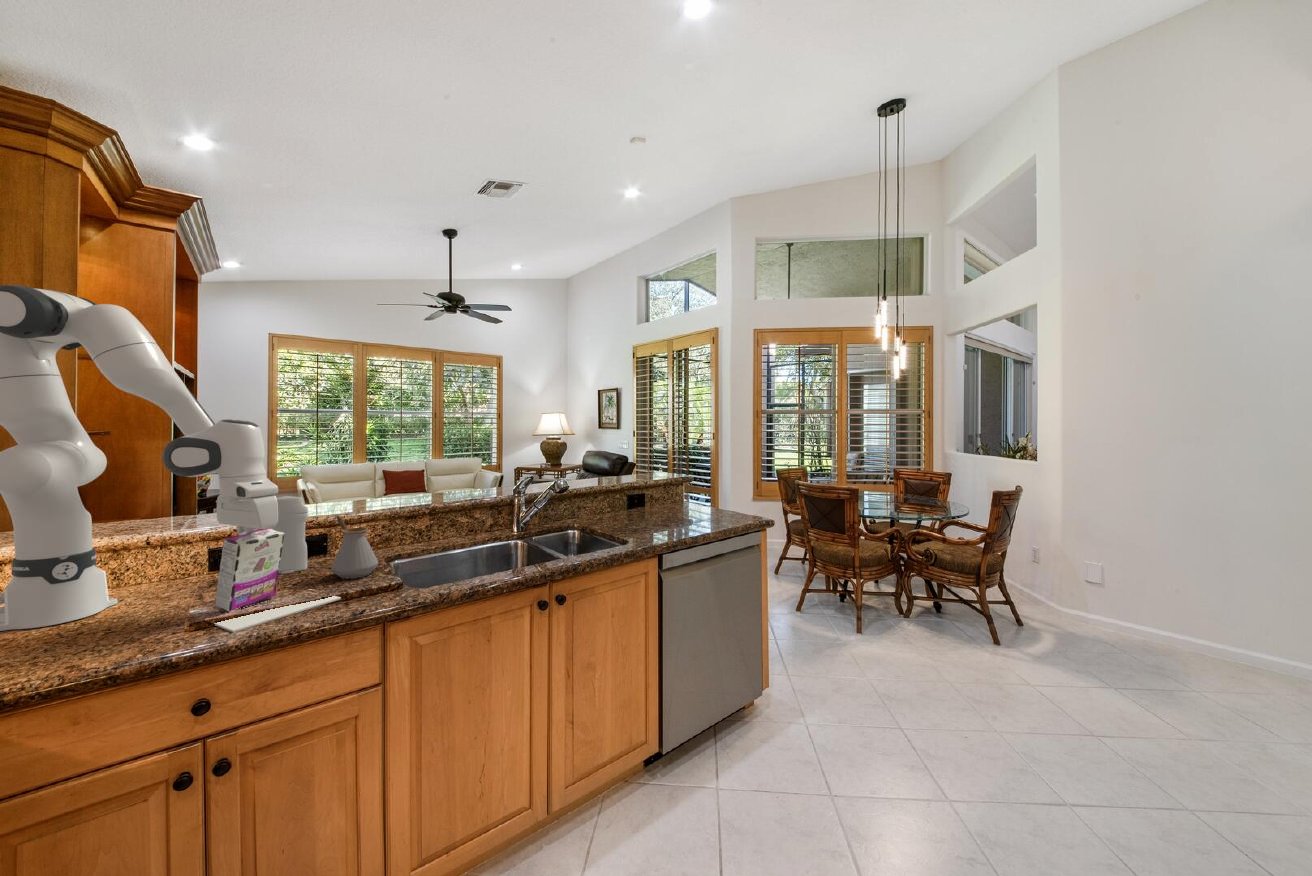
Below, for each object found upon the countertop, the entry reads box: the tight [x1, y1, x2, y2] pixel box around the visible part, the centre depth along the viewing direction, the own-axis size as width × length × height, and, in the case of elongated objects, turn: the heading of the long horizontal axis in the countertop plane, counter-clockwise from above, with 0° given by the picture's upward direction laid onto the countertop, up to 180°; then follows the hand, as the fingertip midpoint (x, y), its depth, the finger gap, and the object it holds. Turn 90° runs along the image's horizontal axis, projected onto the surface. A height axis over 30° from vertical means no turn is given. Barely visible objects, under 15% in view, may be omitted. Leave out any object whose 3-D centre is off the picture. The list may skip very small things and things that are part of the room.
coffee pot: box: [330, 515, 379, 580], centre depth 147 cm, size 21×12×15 cm, turn 48°
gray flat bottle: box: [264, 495, 309, 575], centre depth 145 cm, size 11×4×22 cm, turn 130°
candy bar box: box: [214, 528, 285, 612], centre depth 119 cm, size 11×5×16 cm, turn 168°
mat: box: [214, 588, 342, 633], centre depth 117 cm, size 13×22×1 cm, turn 153°
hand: (248, 544), depth 121 cm, fingers closed
